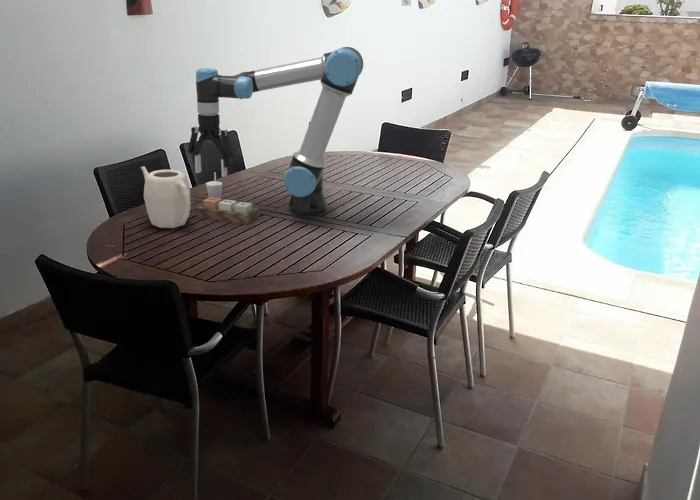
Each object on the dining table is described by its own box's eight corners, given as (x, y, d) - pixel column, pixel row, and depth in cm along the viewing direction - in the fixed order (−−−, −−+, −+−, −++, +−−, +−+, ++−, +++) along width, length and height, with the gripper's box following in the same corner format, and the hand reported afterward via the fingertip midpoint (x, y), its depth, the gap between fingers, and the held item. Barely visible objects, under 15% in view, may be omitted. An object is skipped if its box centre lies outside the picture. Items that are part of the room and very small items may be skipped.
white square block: (237, 210, 229) (237, 200, 228) (230, 213, 225) (230, 204, 223) (225, 208, 231) (225, 199, 229) (218, 211, 226) (218, 202, 225)
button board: (258, 217, 229) (258, 208, 228) (247, 224, 221) (246, 215, 220) (210, 210, 236) (210, 201, 234) (197, 216, 228) (197, 207, 227)
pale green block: (252, 212, 227) (252, 203, 226) (246, 216, 223) (245, 206, 221) (240, 210, 229) (240, 201, 227) (234, 214, 224) (233, 204, 223)
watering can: (163, 210, 233) (159, 162, 226) (208, 226, 218) (205, 175, 211) (127, 219, 222) (122, 169, 215) (172, 237, 207) (168, 183, 200)
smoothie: (219, 210, 236) (218, 175, 231) (204, 208, 237) (202, 173, 232) (226, 205, 242) (224, 171, 237) (210, 204, 243) (209, 169, 238)
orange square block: (222, 207, 231) (222, 198, 230) (215, 211, 227) (214, 202, 225) (210, 205, 233) (210, 196, 231) (203, 209, 228) (203, 200, 227)
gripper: (242, 115, 216) (243, 175, 225) (187, 109, 224) (190, 168, 232) (231, 118, 210) (233, 180, 218) (175, 112, 217) (179, 172, 225)
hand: (211, 174), depth 225 cm, fingers open, 10 cm apart
